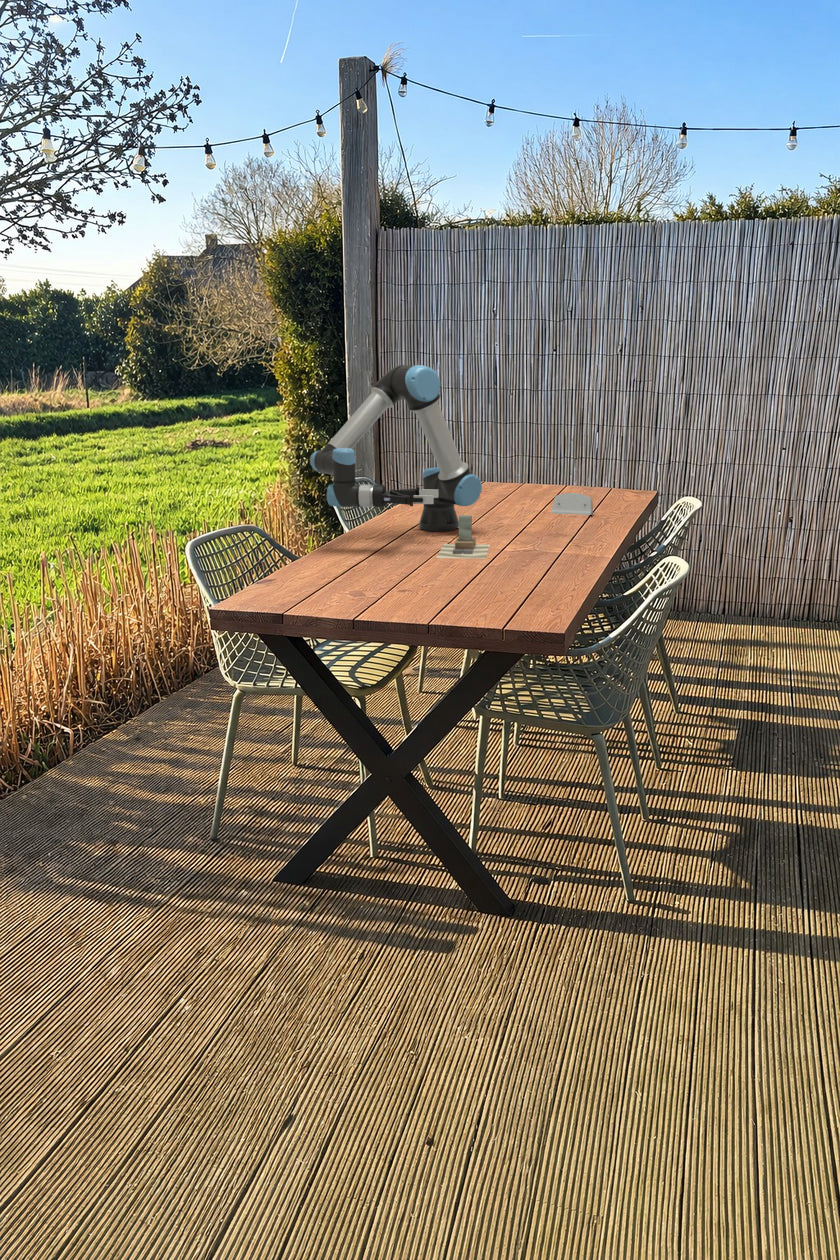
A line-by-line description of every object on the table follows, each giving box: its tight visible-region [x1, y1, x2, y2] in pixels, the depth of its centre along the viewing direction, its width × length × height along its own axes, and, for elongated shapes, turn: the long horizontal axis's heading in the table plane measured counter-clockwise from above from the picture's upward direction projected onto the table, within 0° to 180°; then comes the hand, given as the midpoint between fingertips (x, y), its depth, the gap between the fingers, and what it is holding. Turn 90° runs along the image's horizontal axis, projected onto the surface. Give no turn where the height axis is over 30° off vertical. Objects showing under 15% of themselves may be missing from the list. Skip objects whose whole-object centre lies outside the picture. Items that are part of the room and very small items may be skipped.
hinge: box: [550, 492, 594, 515], centre depth 392 cm, size 17×5×10 cm, turn 69°
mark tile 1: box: [453, 549, 463, 554], centre depth 321 cm, size 3×3×1 cm
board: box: [435, 543, 491, 560], centre depth 324 cm, size 22×16×2 cm
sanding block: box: [454, 514, 477, 550], centre depth 328 cm, size 10×6×11 cm, turn 172°
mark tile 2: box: [463, 549, 473, 554], centre depth 321 cm, size 3×3×1 cm
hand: (436, 496), depth 326 cm, fingers open, 13 cm apart
